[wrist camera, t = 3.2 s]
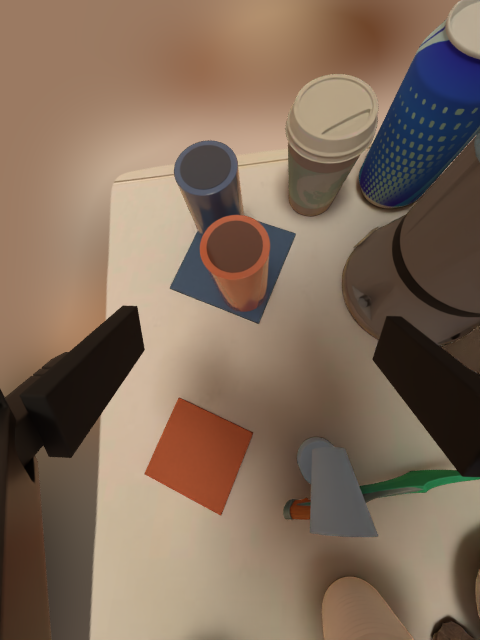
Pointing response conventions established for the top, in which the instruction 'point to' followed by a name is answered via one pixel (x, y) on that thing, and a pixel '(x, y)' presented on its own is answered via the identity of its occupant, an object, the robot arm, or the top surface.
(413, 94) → the beer can
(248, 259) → the terracotta tumbler
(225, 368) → the top surface
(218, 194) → the blue tumbler
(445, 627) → the stone
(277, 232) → the blue mat
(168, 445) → the terracotta mat
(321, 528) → the spotlight
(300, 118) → the coffee cup
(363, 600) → the cup
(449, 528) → the top surface
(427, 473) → the knife
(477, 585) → the spoon rest
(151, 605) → the top surface
